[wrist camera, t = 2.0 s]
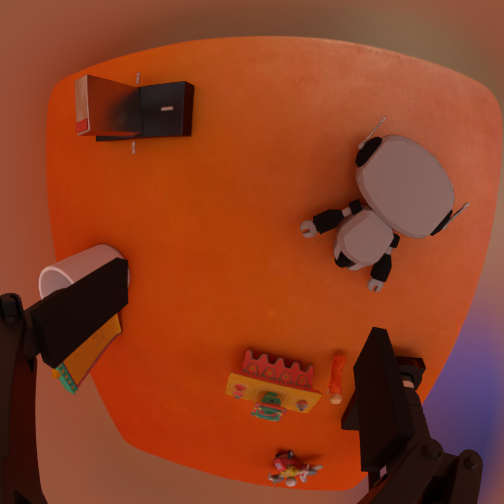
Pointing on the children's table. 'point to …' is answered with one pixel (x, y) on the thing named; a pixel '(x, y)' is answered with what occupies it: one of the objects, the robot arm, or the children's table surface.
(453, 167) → the children's table surface
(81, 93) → the small card box
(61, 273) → the mug
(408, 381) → the lamp switch
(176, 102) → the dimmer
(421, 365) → the lamp base
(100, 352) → the building blocks
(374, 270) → the robot toy
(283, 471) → the toy airplane
